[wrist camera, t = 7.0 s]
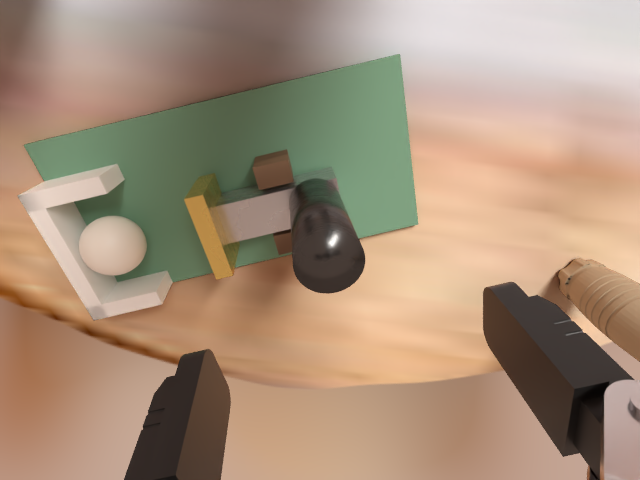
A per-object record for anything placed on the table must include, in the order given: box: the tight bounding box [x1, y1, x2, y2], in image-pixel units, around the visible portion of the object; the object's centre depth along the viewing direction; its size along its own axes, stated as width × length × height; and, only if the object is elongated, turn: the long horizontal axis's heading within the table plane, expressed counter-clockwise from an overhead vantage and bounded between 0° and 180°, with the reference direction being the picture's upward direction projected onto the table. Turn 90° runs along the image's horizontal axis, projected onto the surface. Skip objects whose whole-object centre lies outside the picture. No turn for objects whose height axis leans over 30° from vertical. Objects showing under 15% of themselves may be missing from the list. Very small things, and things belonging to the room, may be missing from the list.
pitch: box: [24, 54, 418, 282], centre depth 24 cm, size 11×22×1 cm, turn 102°
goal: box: [18, 164, 173, 320], centre depth 24 cm, size 9×4×3 cm, turn 12°
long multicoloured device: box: [184, 167, 365, 293], centre depth 20 cm, size 8×5×9 cm, turn 102°
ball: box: [79, 216, 147, 275], centre depth 23 cm, size 4×4×4 cm
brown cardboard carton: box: [253, 149, 294, 255], centre depth 23 cm, size 6×2×3 cm, turn 12°
